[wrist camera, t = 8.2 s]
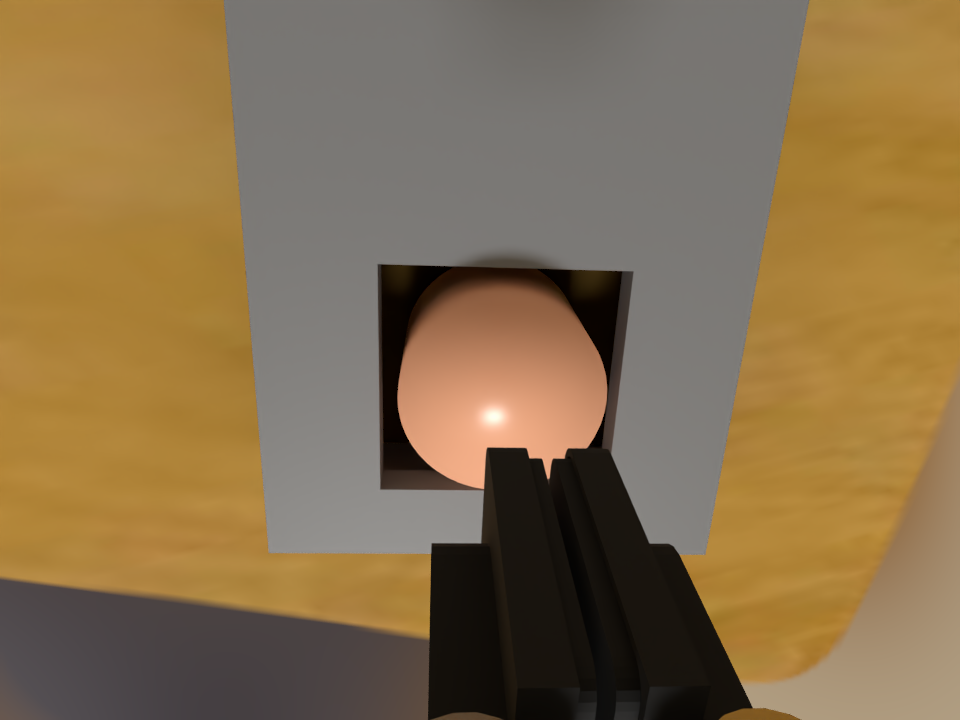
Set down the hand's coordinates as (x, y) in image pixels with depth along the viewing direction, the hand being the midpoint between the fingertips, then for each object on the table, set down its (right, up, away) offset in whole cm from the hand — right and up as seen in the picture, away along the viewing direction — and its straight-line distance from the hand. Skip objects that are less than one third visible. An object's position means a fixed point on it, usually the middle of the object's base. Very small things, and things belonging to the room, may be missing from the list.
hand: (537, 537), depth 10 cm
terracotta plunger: (0, +3, +10) cm, 11 cm away
